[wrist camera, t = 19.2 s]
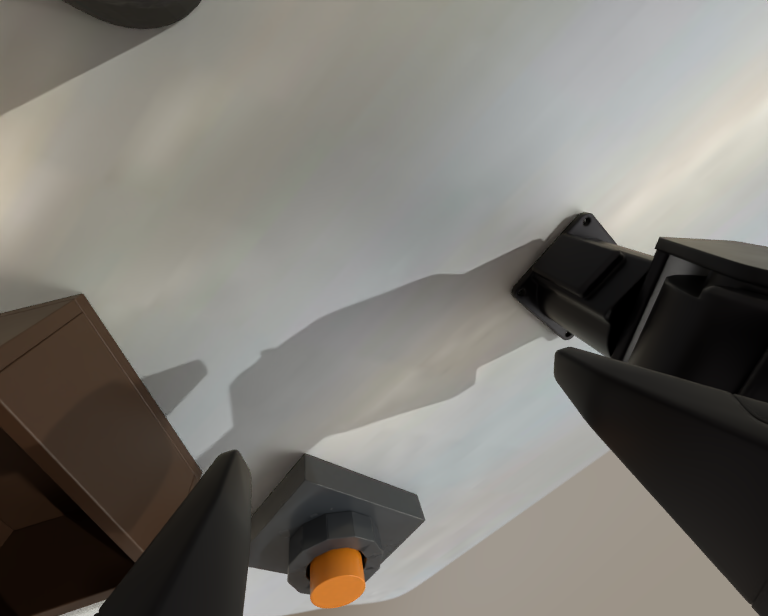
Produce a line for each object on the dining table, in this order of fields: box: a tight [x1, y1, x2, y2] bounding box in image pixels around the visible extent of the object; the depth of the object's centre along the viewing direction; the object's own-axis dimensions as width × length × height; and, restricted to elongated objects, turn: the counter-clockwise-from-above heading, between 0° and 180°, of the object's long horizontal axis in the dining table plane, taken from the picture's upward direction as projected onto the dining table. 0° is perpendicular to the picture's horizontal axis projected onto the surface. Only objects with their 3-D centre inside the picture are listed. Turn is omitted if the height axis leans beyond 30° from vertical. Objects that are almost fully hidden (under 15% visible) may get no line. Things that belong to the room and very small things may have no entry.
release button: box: [310, 548, 365, 608], centre depth 23 cm, size 4×4×2 cm
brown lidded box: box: [0, 294, 202, 616], centre depth 16 cm, size 11×13×6 cm
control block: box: [248, 454, 425, 594], centre depth 25 cm, size 11×9×4 cm
